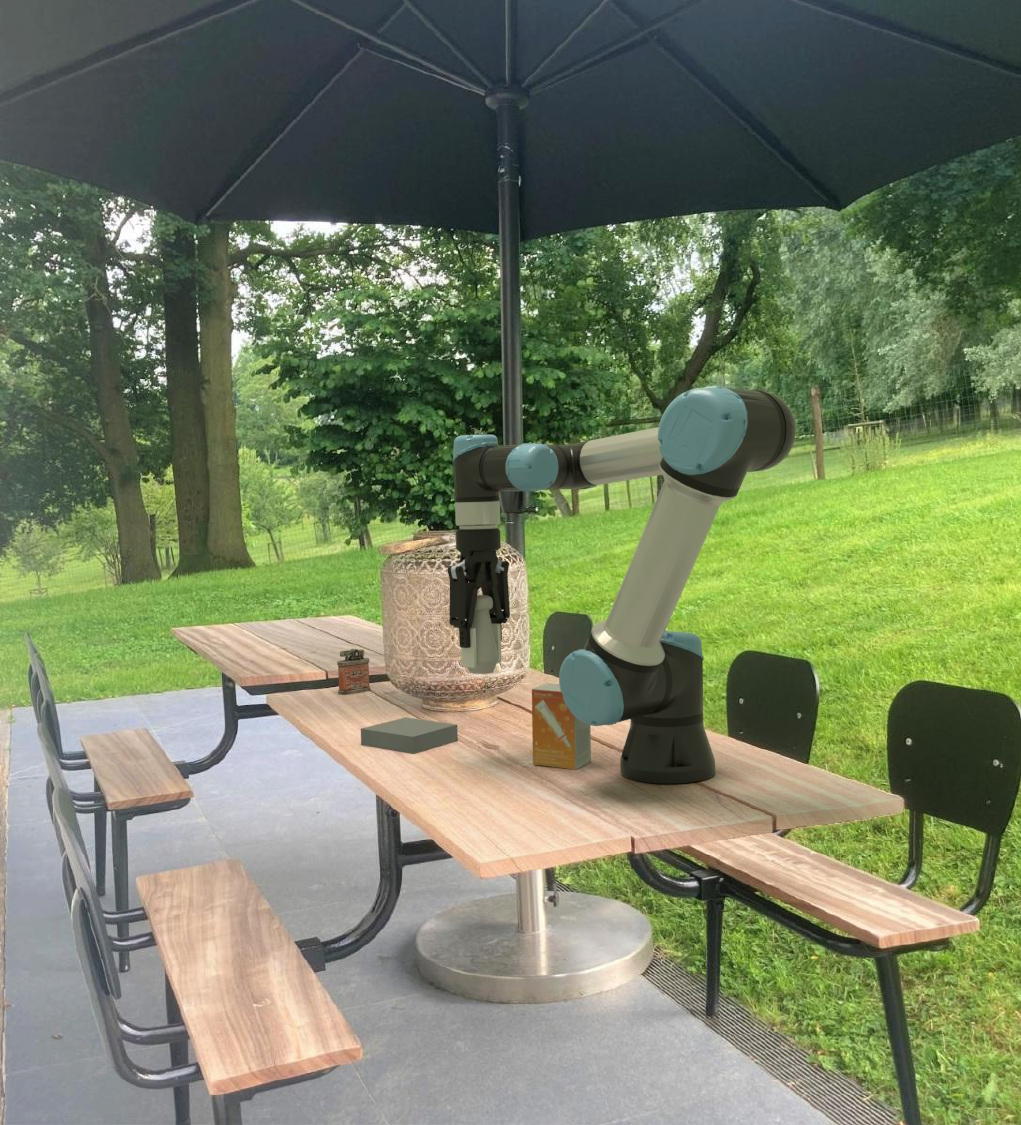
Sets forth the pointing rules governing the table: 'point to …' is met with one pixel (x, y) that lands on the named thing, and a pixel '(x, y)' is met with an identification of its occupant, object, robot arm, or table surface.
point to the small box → (557, 731)
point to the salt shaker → (484, 637)
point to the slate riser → (409, 735)
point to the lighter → (353, 672)
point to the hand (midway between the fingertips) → (481, 663)
